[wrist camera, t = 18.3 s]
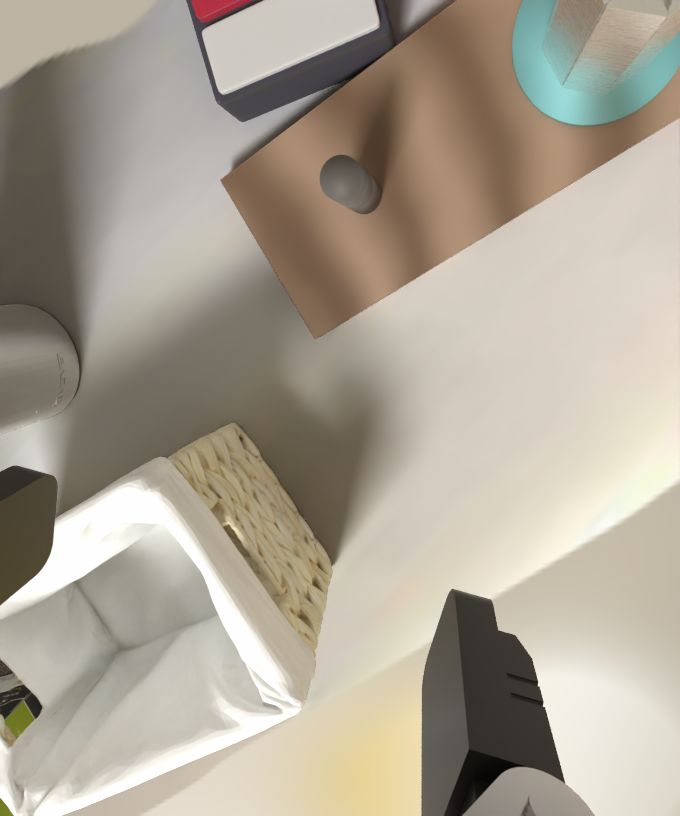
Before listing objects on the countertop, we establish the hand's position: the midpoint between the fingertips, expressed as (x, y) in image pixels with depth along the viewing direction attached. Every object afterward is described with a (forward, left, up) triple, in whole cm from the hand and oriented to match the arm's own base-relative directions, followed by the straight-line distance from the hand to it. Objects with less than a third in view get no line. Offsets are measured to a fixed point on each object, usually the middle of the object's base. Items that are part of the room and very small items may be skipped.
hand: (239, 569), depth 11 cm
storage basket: (-12, -20, -29) cm, 38 cm away
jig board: (+1, +15, -29) cm, 32 cm away
